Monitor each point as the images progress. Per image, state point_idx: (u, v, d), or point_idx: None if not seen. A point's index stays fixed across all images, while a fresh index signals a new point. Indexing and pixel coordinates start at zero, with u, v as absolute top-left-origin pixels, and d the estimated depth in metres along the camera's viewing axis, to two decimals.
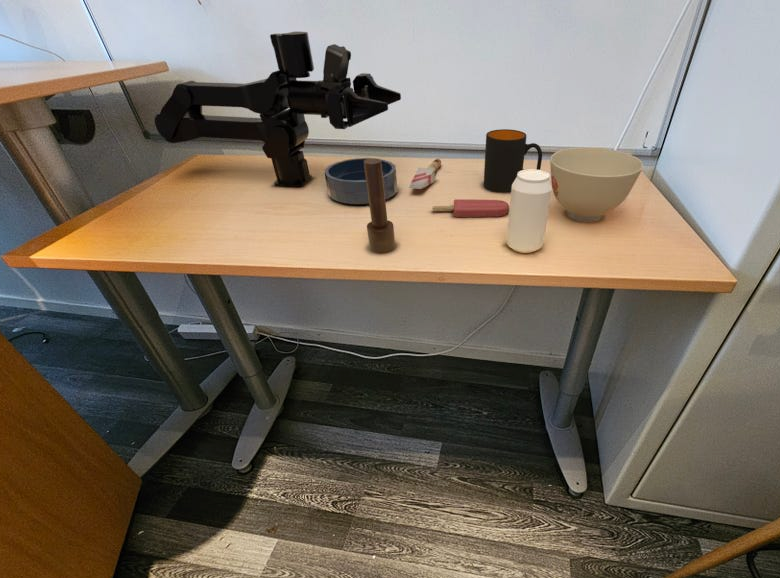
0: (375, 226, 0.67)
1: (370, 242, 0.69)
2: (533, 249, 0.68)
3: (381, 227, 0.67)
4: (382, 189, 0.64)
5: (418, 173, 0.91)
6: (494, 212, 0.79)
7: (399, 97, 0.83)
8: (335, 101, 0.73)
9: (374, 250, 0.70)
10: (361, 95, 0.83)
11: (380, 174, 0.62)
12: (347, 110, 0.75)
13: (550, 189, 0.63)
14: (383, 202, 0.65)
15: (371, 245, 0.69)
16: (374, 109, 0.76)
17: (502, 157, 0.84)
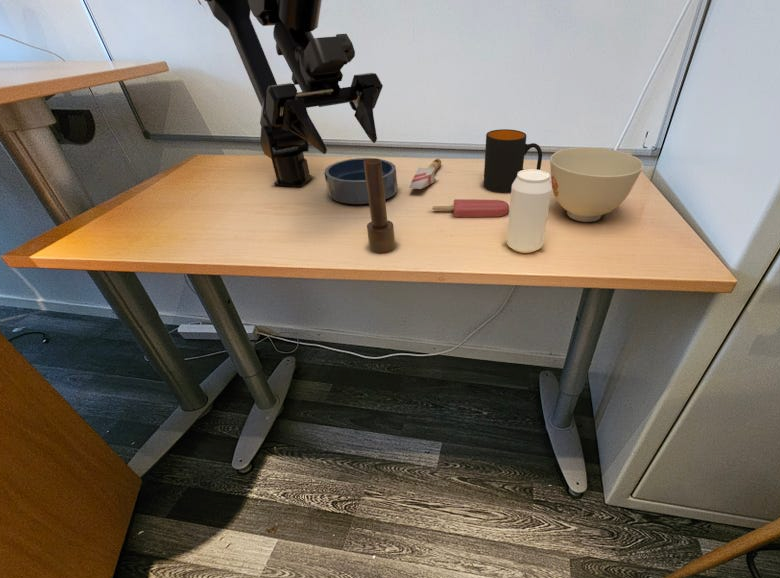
0: (375, 226, 0.67)
1: (370, 242, 0.69)
2: (533, 249, 0.68)
3: (381, 227, 0.67)
4: (382, 189, 0.64)
5: (418, 173, 0.91)
6: (494, 212, 0.79)
7: (373, 140, 0.69)
8: (271, 102, 0.61)
9: (374, 250, 0.70)
10: (346, 98, 0.68)
11: (380, 174, 0.62)
12: (283, 117, 0.63)
13: (550, 189, 0.63)
14: (383, 202, 0.65)
15: (371, 245, 0.69)
16: (312, 141, 0.64)
17: (502, 157, 0.84)
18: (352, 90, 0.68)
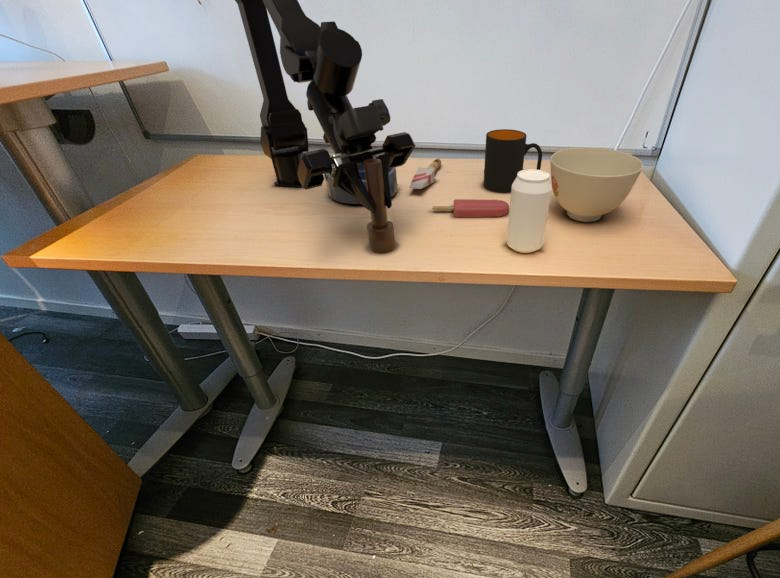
0: (375, 226, 0.67)
1: (370, 242, 0.69)
2: (533, 249, 0.68)
3: (381, 227, 0.67)
4: (382, 189, 0.64)
5: (418, 173, 0.91)
6: (494, 212, 0.79)
7: (388, 206, 0.66)
8: (304, 169, 0.59)
9: (374, 250, 0.70)
10: None
11: (380, 174, 0.62)
12: (335, 178, 0.63)
13: (550, 189, 0.63)
14: (383, 202, 0.65)
15: (371, 245, 0.69)
16: (362, 200, 0.65)
17: (502, 157, 0.84)
18: (384, 150, 0.67)
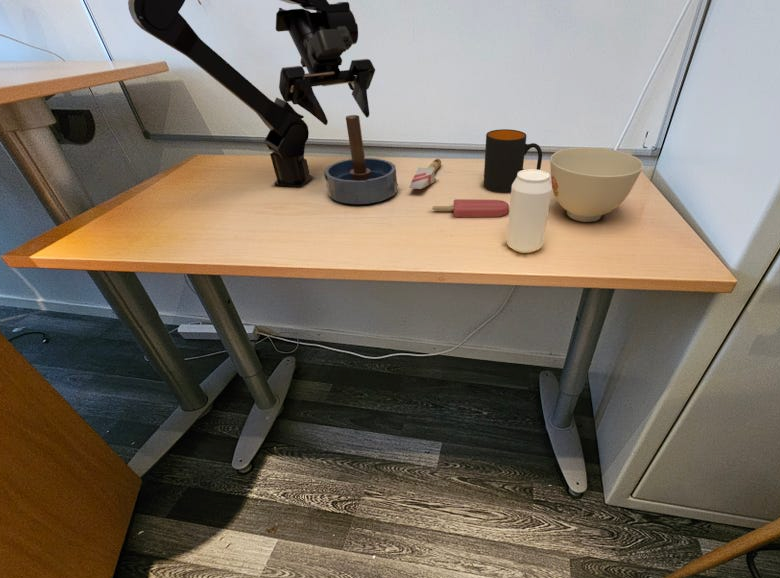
0: (356, 171, 0.85)
1: None
2: (533, 249, 0.68)
3: (361, 172, 0.85)
4: (361, 139, 0.82)
5: (418, 173, 0.91)
6: (494, 212, 0.79)
7: (366, 115, 0.84)
8: (284, 81, 0.76)
9: None
10: (345, 80, 0.83)
11: (359, 127, 0.80)
12: (293, 94, 0.78)
13: (550, 189, 0.63)
14: (362, 151, 0.83)
15: None
16: (316, 114, 0.79)
17: (502, 157, 0.84)
18: (350, 73, 0.83)
